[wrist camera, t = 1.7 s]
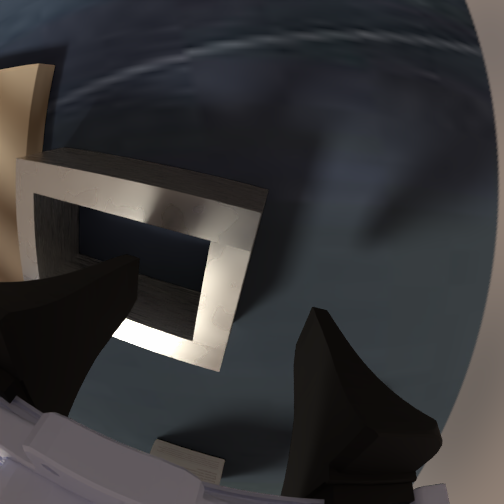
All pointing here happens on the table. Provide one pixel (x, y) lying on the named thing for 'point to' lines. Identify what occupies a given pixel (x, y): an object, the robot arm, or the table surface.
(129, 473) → the robot arm
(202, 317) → the beige hollow boxy piece
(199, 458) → the supplement box
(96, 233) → the table surface
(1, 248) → the board
